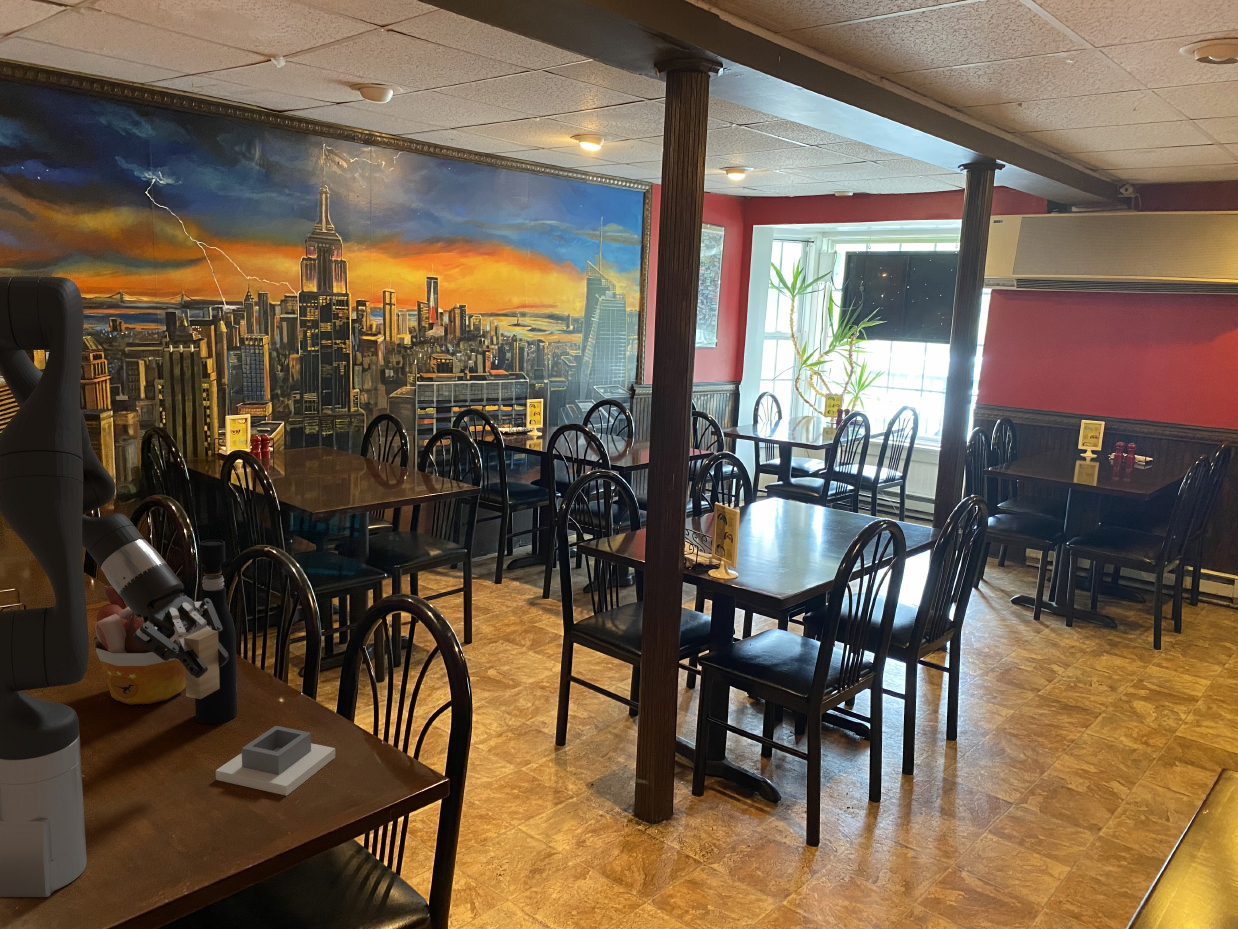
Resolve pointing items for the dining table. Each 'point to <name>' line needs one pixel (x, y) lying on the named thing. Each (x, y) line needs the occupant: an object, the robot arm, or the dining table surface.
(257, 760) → the socket base
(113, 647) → the bucket of meat
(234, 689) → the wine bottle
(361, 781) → the dining table surface
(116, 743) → the dining table surface
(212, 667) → the slat
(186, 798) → the dining table surface
